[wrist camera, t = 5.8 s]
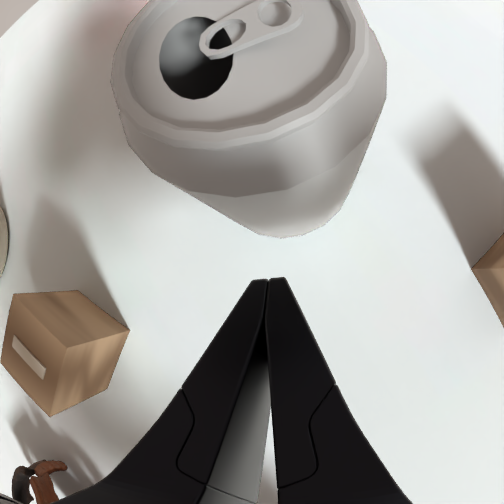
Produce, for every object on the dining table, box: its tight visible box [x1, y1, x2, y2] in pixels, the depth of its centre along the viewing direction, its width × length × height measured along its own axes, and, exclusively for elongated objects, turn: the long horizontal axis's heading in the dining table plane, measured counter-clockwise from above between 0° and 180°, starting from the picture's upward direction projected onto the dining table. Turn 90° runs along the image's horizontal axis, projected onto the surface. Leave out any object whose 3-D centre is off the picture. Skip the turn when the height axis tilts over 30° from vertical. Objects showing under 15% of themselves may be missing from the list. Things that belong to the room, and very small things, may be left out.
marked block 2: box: [0, 290, 130, 417], centre depth 16 cm, size 5×5×6 cm
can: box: [111, 0, 387, 238], centre depth 12 cm, size 8×8×12 cm
